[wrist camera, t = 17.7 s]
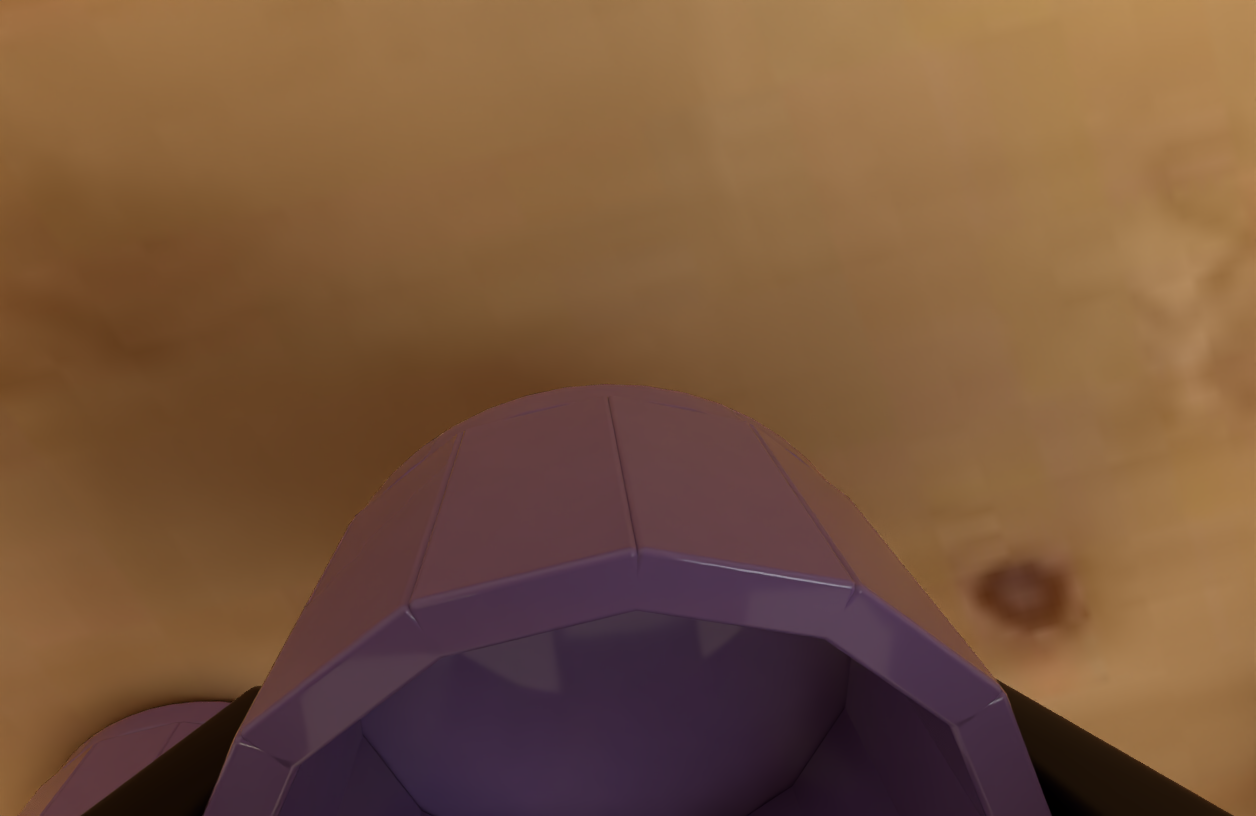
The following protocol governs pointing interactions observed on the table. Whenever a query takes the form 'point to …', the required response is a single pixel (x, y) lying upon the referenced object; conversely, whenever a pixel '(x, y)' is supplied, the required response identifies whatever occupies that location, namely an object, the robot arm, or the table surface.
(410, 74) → the table surface
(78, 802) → the dish
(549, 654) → the dish
